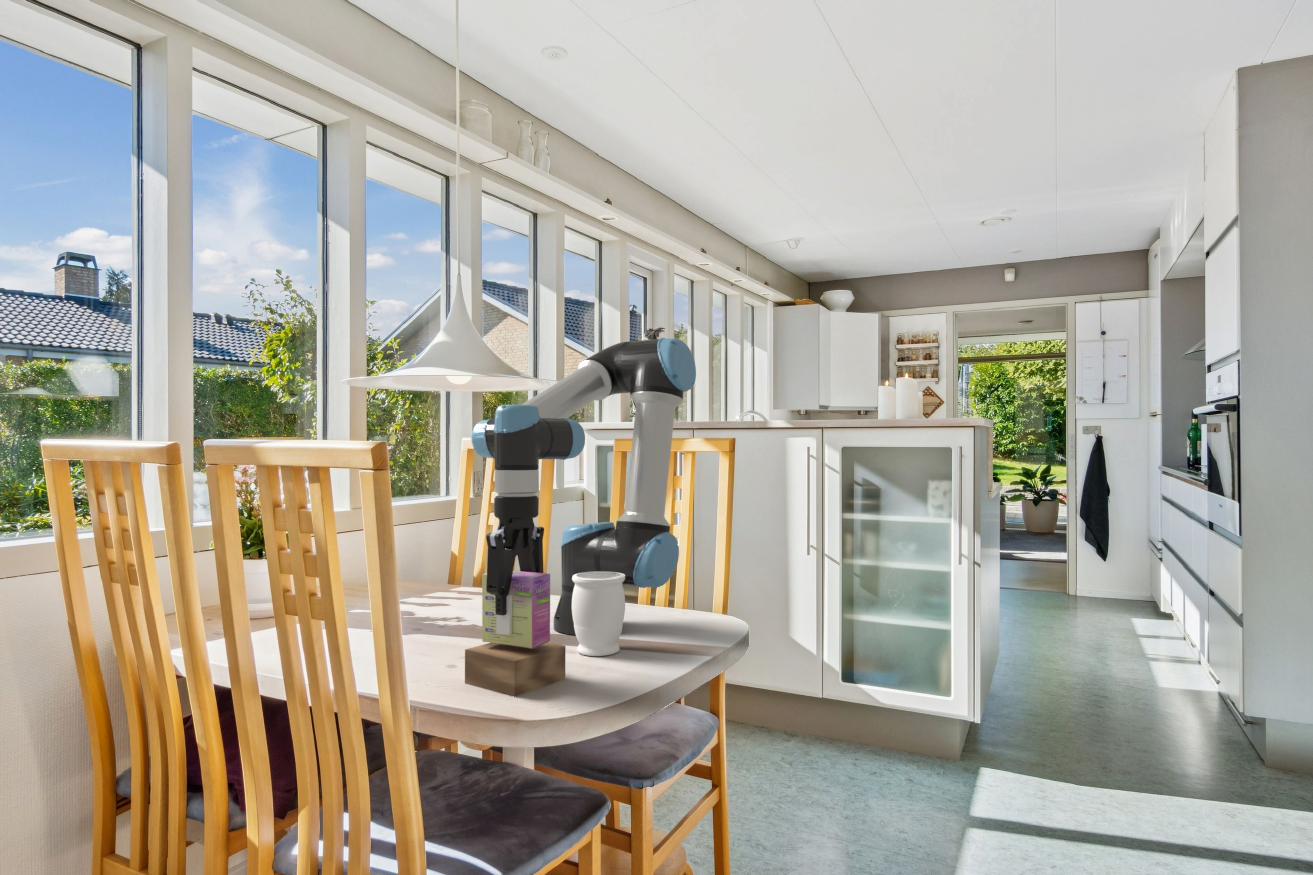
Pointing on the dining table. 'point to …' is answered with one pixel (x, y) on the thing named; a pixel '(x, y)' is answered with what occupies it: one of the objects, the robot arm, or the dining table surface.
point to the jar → (598, 611)
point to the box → (520, 611)
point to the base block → (514, 667)
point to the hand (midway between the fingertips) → (515, 629)
